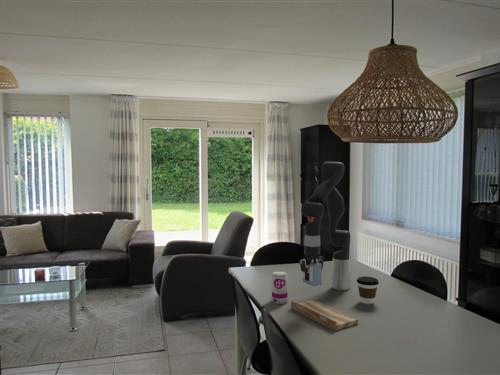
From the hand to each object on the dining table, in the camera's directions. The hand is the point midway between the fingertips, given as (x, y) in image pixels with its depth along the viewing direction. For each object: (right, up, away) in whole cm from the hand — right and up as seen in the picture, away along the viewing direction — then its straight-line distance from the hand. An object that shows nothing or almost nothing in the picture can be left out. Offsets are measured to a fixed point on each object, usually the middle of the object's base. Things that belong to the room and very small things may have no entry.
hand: (311, 279), depth 188 cm
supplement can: (-14, -15, +14) cm, 25 cm away
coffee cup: (+31, -15, +14) cm, 37 cm away
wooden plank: (+5, -16, -5) cm, 17 cm away
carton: (0, -2, 0) cm, 2 cm away
